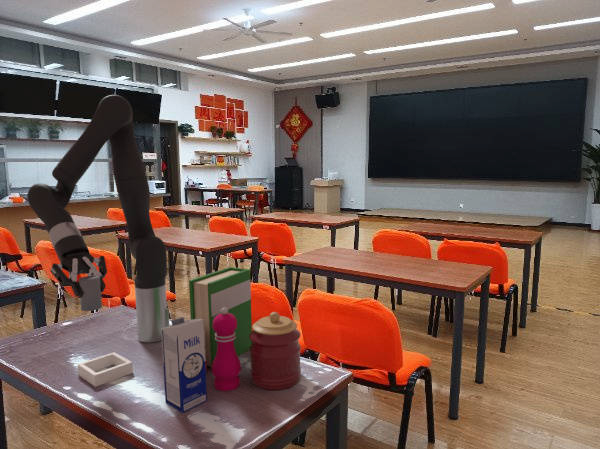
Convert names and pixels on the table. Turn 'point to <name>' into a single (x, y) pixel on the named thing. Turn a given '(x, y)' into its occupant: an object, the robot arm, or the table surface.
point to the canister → (275, 353)
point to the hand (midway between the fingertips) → (92, 293)
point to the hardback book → (223, 306)
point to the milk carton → (184, 363)
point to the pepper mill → (225, 353)
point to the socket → (96, 379)
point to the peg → (90, 293)
